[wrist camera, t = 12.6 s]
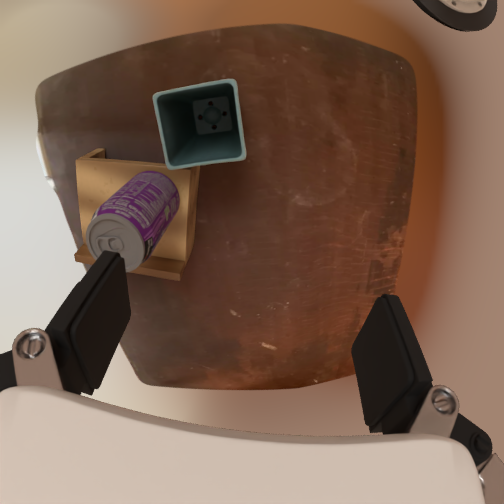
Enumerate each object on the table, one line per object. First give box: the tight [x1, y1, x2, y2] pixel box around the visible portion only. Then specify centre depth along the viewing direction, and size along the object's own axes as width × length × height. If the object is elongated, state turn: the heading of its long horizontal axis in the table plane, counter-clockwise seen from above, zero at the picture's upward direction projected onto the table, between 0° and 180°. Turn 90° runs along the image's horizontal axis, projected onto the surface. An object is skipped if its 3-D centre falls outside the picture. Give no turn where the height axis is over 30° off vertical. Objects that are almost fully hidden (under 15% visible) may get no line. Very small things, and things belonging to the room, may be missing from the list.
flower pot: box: [153, 79, 246, 170], centre depth 33 cm, size 9×9×9 cm
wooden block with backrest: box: [74, 148, 200, 281], centre depth 39 cm, size 14×16×9 cm
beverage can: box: [86, 171, 180, 273], centre depth 31 cm, size 7×7×12 cm
